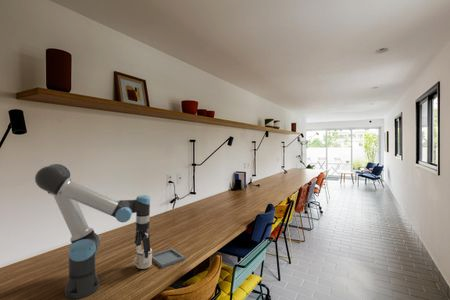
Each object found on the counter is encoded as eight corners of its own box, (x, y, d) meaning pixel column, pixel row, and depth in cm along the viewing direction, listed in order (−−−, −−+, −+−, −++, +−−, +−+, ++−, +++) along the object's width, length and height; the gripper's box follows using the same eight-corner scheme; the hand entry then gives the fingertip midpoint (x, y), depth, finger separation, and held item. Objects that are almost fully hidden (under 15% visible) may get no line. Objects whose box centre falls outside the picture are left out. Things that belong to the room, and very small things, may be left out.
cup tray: (161, 268, 147) (161, 264, 147) (149, 258, 159) (149, 255, 159) (185, 259, 158) (185, 256, 158) (172, 251, 170) (172, 248, 170)
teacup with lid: (145, 260, 155) (145, 242, 154) (155, 264, 150) (155, 245, 149) (128, 268, 144) (128, 248, 144) (138, 273, 140) (139, 252, 139)
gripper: (157, 225, 141) (156, 264, 142) (141, 216, 157) (140, 251, 158) (144, 228, 136) (143, 268, 137) (129, 218, 152) (128, 254, 153)
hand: (142, 259), depth 147 cm, fingers closed on teacup with lid, 9 cm apart
